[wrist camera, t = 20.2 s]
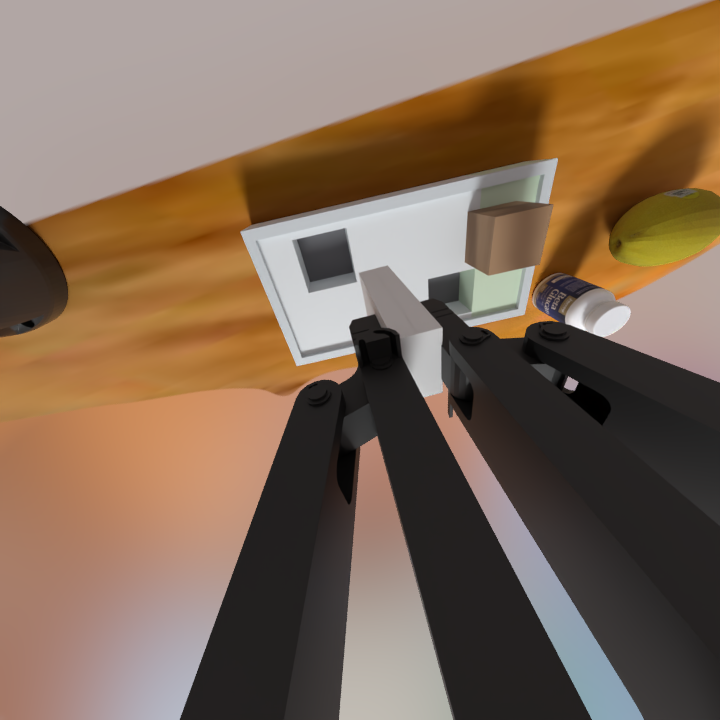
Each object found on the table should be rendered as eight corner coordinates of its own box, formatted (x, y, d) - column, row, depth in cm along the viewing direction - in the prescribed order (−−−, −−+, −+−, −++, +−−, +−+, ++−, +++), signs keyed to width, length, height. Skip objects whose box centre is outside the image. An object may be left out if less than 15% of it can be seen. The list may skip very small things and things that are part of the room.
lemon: (686, 185, 30) (784, 185, 24) (646, 253, 35) (720, 270, 28) (602, 190, 30) (681, 193, 23) (573, 260, 34) (632, 278, 28)
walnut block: (464, 262, 28) (488, 275, 24) (467, 211, 26) (495, 217, 21) (508, 252, 28) (539, 264, 24) (516, 200, 25) (553, 204, 21)
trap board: (299, 347, 37) (296, 366, 33) (251, 224, 27) (240, 231, 24) (503, 300, 36) (524, 314, 33) (525, 161, 27) (558, 158, 23)
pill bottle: (532, 279, 35) (594, 308, 27) (572, 266, 35) (646, 291, 27) (528, 313, 38) (582, 348, 30) (564, 302, 38) (629, 334, 30)
